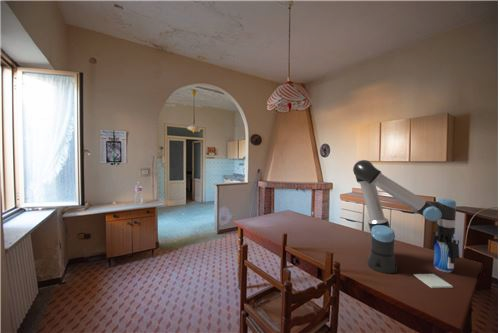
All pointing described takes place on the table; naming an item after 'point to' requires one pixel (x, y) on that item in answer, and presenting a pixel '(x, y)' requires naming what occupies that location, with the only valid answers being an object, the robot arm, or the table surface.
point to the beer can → (441, 257)
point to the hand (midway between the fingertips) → (444, 264)
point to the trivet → (433, 281)
